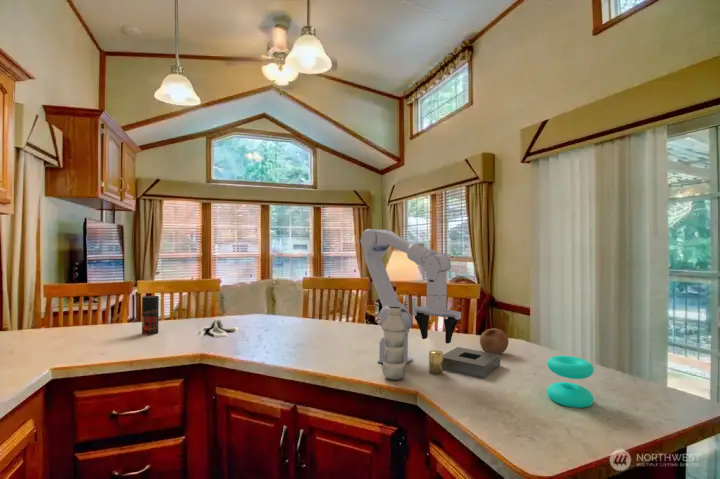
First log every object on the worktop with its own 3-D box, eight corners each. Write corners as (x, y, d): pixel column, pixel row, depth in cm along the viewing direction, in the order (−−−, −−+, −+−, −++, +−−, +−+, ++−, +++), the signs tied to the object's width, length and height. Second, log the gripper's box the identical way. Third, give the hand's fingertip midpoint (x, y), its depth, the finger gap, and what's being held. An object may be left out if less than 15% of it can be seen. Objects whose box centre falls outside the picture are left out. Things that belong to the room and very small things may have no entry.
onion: (492, 365, 131) (486, 341, 128) (477, 350, 140) (471, 327, 137) (516, 354, 133) (511, 330, 129) (500, 340, 142) (495, 317, 138)
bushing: (439, 375, 112) (439, 355, 112) (426, 372, 115) (426, 352, 115) (445, 372, 116) (445, 351, 116) (432, 369, 118) (433, 349, 118)
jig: (484, 378, 111) (484, 366, 111) (438, 368, 119) (439, 356, 119) (500, 366, 122) (500, 354, 122) (457, 357, 130) (457, 347, 130)
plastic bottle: (390, 372, 115) (391, 304, 115) (410, 378, 110) (410, 307, 110) (377, 378, 110) (378, 307, 110) (397, 384, 105) (398, 310, 105)
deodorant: (138, 334, 158) (138, 297, 158) (150, 331, 163) (150, 295, 163) (150, 335, 156) (150, 298, 156) (161, 332, 162) (162, 296, 162)
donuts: (561, 366, 90) (539, 354, 100) (560, 410, 90) (539, 393, 100) (603, 366, 91) (577, 354, 101) (603, 409, 91) (577, 392, 101)
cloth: (209, 327, 174) (210, 313, 174) (247, 329, 170) (247, 315, 170) (176, 339, 153) (176, 323, 153) (218, 342, 149) (218, 326, 149)
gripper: (465, 295, 114) (465, 341, 114) (421, 291, 123) (421, 334, 123) (455, 298, 108) (455, 347, 108) (410, 293, 117) (409, 338, 117)
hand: (436, 340), depth 115 cm, fingers open, 7 cm apart
